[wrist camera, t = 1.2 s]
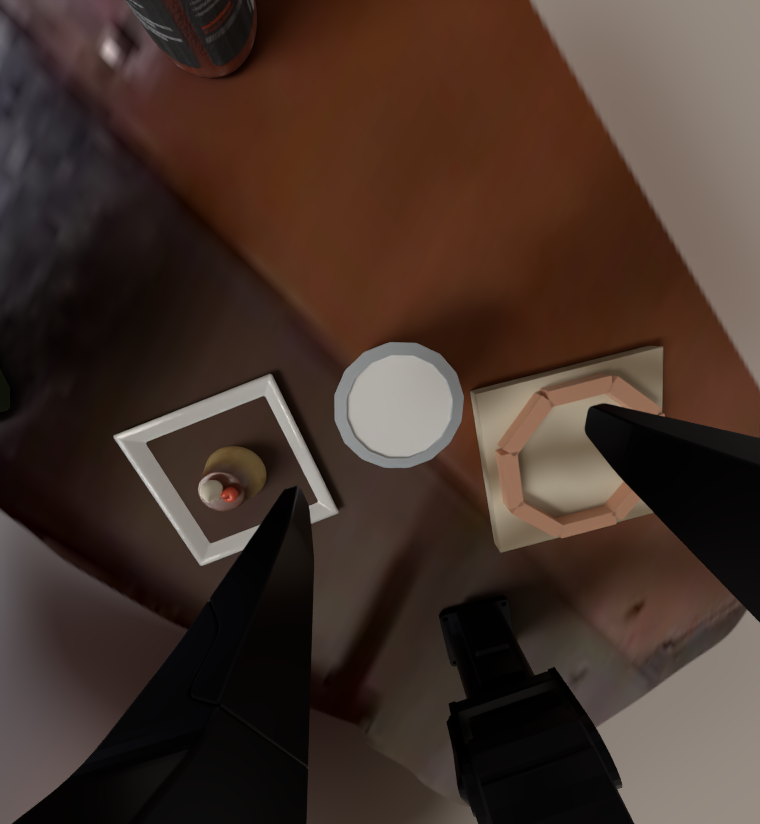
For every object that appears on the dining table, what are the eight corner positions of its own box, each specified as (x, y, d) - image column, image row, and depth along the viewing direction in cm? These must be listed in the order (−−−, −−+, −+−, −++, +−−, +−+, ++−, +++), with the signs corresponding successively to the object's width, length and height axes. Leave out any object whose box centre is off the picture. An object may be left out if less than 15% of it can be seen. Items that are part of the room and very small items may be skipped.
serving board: (647, 503, 27) (660, 510, 26) (494, 543, 27) (500, 552, 26) (648, 345, 24) (663, 346, 22) (470, 391, 23) (475, 394, 22)
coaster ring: (651, 505, 26) (662, 512, 25) (508, 542, 26) (514, 550, 25) (652, 360, 23) (665, 361, 22) (488, 402, 23) (494, 405, 22)
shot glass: (402, 317, 22) (424, 313, 15) (448, 398, 24) (486, 427, 17) (320, 370, 22) (306, 389, 15) (372, 445, 24) (379, 491, 17)
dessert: (339, 505, 26) (336, 544, 21) (206, 556, 26) (175, 605, 21) (275, 370, 22) (254, 382, 18) (123, 431, 23) (65, 457, 18)
